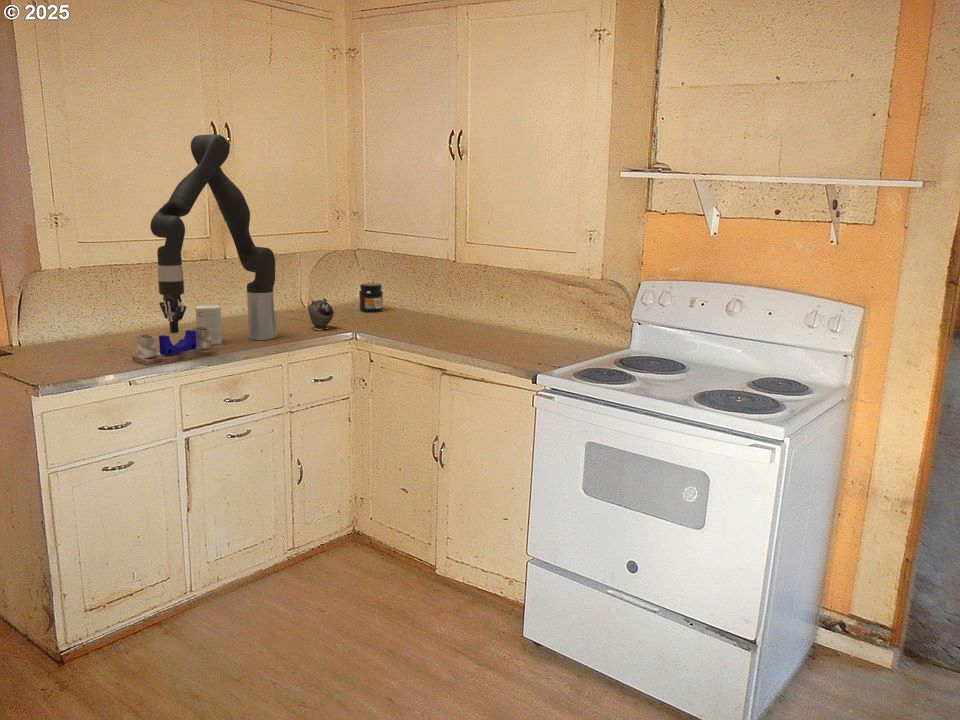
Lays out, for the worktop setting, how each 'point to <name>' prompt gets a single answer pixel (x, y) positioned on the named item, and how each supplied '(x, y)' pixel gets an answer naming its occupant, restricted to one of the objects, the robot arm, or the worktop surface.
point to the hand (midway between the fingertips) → (174, 332)
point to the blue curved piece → (181, 346)
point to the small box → (210, 321)
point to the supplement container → (371, 297)
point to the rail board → (151, 357)
